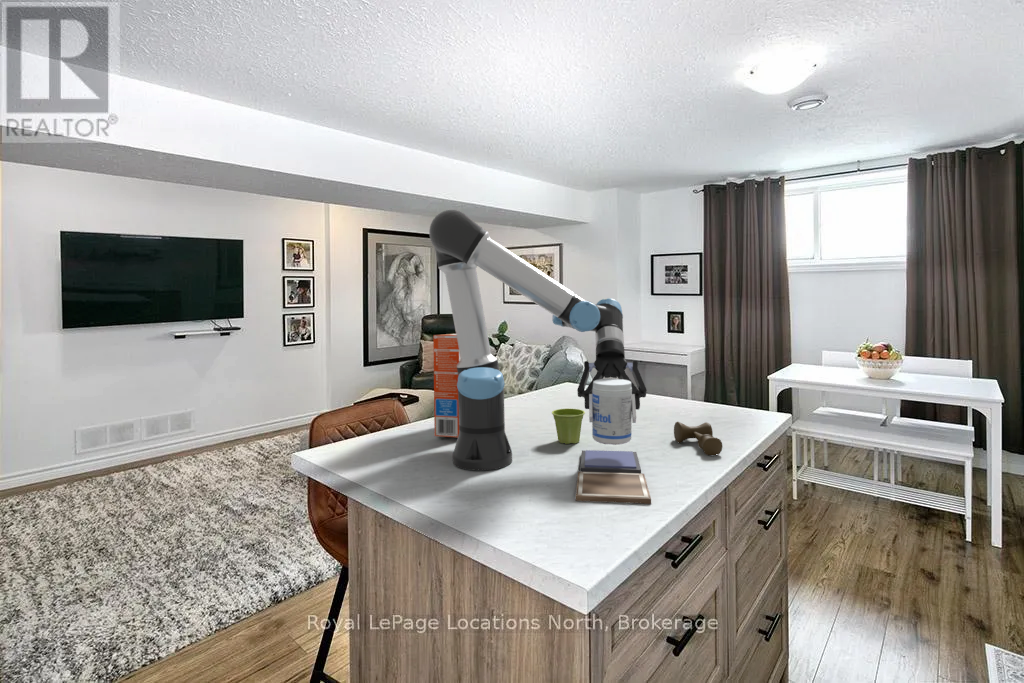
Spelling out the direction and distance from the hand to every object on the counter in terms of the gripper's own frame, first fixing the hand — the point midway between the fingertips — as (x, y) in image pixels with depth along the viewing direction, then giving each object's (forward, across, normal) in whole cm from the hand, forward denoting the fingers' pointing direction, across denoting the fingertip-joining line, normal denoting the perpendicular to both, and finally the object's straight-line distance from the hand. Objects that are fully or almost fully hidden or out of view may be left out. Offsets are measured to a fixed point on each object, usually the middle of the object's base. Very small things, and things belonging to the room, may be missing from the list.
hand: (612, 419), depth 124 cm
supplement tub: (+2, 0, -6) cm, 7 cm away
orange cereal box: (-14, +46, -30) cm, 57 cm away
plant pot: (-7, +12, -24) cm, 28 cm away
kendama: (-6, -24, -24) cm, 35 cm away
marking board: (+18, +1, +1) cm, 18 cm away
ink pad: (+6, +1, -10) cm, 12 cm away
